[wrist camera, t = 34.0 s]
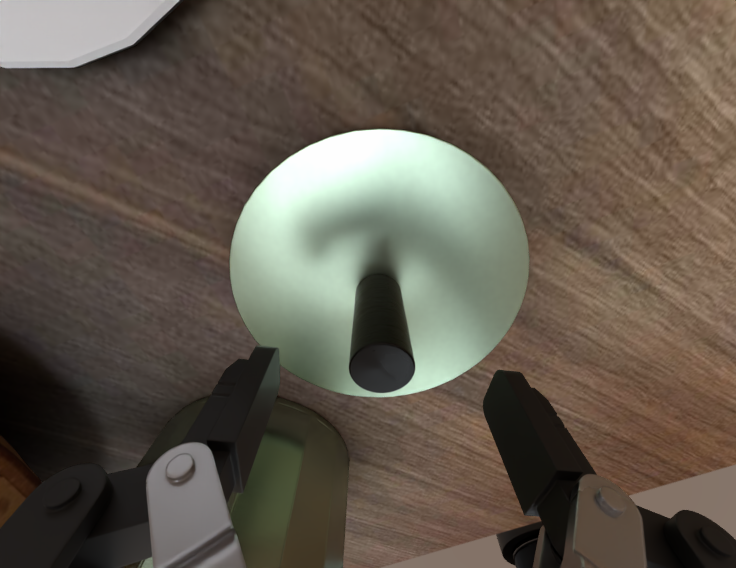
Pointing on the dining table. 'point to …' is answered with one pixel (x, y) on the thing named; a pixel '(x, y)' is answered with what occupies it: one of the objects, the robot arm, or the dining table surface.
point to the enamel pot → (282, 489)
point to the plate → (74, 30)
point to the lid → (379, 262)
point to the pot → (13, 481)
